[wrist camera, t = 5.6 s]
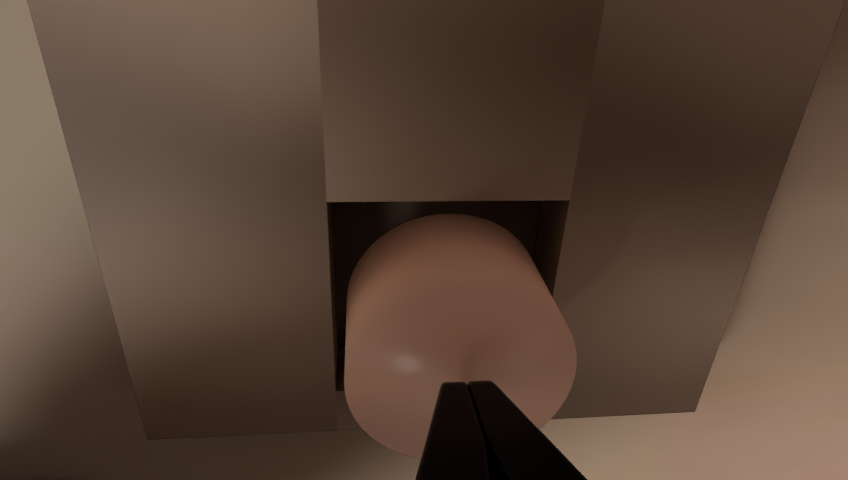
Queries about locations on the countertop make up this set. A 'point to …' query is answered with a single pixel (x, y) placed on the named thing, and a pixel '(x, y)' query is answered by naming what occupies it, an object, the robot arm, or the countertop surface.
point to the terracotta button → (449, 327)
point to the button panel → (420, 175)
